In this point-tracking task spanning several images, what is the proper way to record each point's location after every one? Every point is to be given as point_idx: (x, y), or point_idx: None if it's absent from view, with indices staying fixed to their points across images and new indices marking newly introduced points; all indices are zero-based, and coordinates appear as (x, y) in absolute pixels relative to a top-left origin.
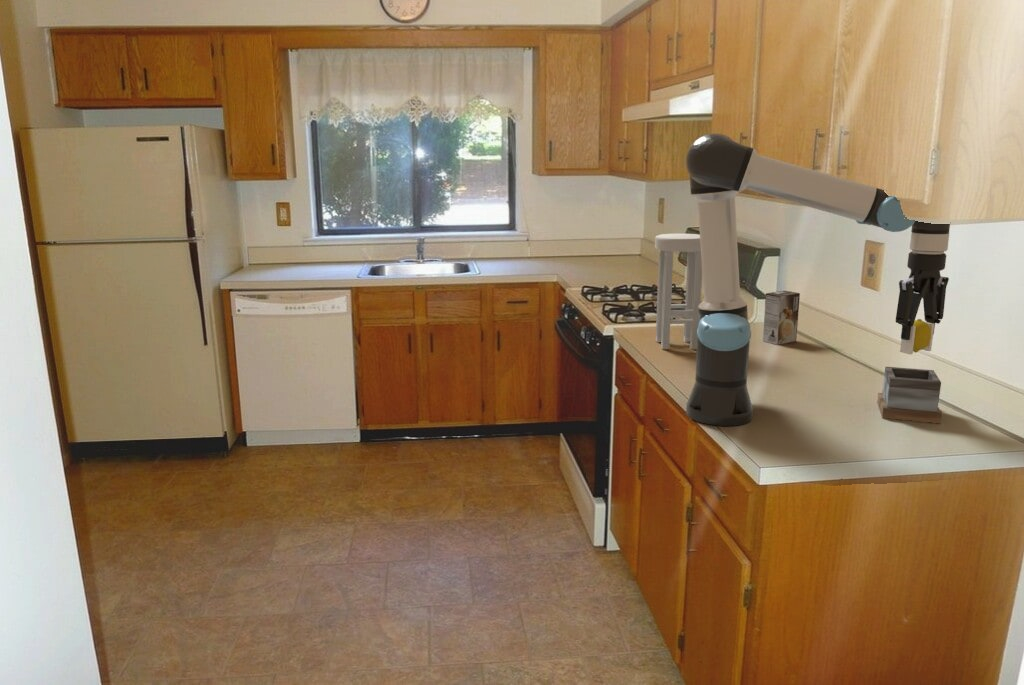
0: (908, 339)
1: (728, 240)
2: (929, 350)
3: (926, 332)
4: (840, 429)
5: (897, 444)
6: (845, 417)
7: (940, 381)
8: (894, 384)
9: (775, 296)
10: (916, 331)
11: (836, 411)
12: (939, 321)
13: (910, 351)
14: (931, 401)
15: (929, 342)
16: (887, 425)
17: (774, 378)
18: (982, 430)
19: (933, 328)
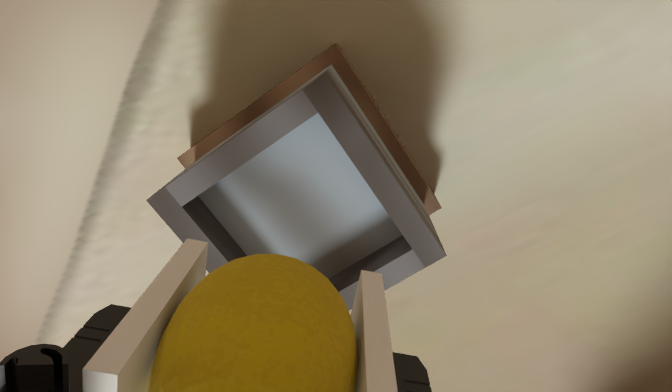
0: (397, 355)
1: None
2: (201, 243)
3: (282, 318)
4: (638, 219)
5: (661, 32)
6: (514, 265)
7: (307, 86)
8: (431, 228)
9: None
10: (341, 376)
11: (478, 307)
12: (27, 358)
13: (382, 285)
14: (344, 89)
15: (233, 261)
16: (491, 149)
17: None
18: None
19: (114, 337)
